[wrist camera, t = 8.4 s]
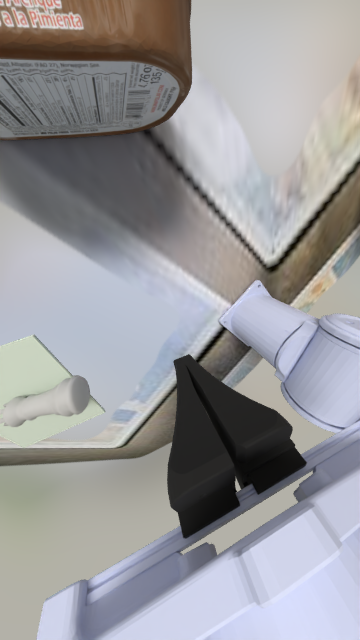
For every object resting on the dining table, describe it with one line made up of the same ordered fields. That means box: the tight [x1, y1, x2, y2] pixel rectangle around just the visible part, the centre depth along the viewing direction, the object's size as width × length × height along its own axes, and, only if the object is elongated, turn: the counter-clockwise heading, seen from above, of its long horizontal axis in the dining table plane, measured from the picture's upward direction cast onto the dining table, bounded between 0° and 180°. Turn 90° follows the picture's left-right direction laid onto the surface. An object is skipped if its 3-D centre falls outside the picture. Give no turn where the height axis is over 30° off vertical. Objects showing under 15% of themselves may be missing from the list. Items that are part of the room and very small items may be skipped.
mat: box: [0, 335, 105, 448], centre depth 20 cm, size 12×16×1 cm
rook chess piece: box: [0, 375, 90, 427], centre depth 19 cm, size 4×4×8 cm
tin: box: [0, 0, 192, 140], centre depth 8 cm, size 15×3×8 cm, turn 99°
